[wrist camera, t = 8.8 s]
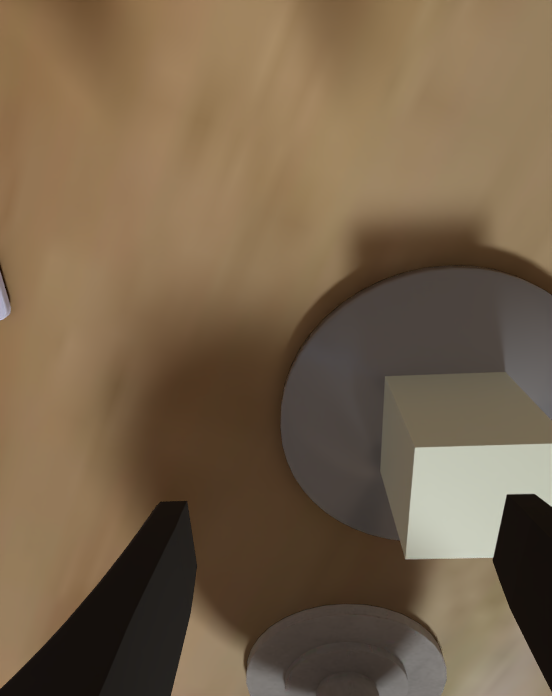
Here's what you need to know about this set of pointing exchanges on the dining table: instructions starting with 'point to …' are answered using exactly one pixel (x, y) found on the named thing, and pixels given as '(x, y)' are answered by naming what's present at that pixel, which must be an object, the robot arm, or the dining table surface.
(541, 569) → the robot arm
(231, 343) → the dining table surface
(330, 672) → the mate gourd
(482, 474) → the cube
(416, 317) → the plate
